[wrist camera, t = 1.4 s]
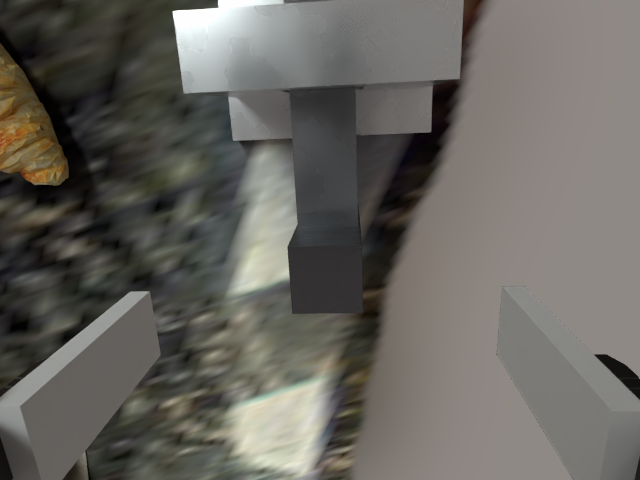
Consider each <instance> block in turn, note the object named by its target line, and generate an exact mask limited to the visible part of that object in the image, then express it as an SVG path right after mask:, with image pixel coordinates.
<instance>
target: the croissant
mask: <svg viewBox="0 0 640 480" xmlns="http://www.w3.org/2000/svg"><path fill="white" fill-rule="evenodd" d="M0 171H2V172H5V173H9V174H12V173H15V172H20V173H21V174H22V176H23V177H24V178H25V179H26V180H27V181H29V182H31V183H33V184H34V185H38V184H41V185H55V186H56V185H60V184H61V182H63V181H65V179H67V178H68V177H69V168H68V161H67V158H66V157H65V156H64V154H63V150H62V146H60V145H59V143H58V140H57V137H56V134H55V131H54V128H53V125H52V122H51V119H50V116H49V115H48V113H47V112H46V110H45V108H44V106H43V104H42V103H41V102H40V101H39V99H38V97H37V95H36V94H35V92H34V90H33V88H32V86H31V84H30V83H29V81H28V79H27V78H26V75H25V74H24V72H23V70H22V69H21V68H20V67H19V66H18V65H17V64H16V63H15V61H14V60H13V59H12V57H11V56H10V54H9V53H8V52H7V51H6V49H5V48H4V47H3V46H2V44H1V43H0Z"/></svg>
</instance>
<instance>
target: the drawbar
mask: <svg viewBox="0 0 640 480" xmlns="http://www.w3.org/2000/svg"><path fill="white" fill-rule="evenodd" d="M283 1H284V4H287V3H301V2H316V1H331V0H283ZM289 95H290V110H291V126H292V142H293V157H294V173H295V188H296V204H297V220H298V225H297V227H296V229H295V232H294V234H293V236H292V238H291V241H290V243H289V245H288V259H289V273H290V287H291V301H292V314H305V313H363V285H362V242H361V230H360V218H359V206H358V192H357V141H356V90H355V87H339V88H320V89H300V90H289Z"/></svg>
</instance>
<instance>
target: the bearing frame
mask: <svg viewBox="0 0 640 480" xmlns="http://www.w3.org/2000/svg"><path fill="white" fill-rule="evenodd" d="M218 3H219V8H214V9H199V10H184V11H173V16H174V23H175V31H176V38H177V46H178V53H179V60H180V68H181V75H182V83H183V90H184V93H186V94H198V95H211V96H223V97H228V98H229V107H230V117H231V126H232V136H233V141H240V140H263V139H286V138H292V126H291V110H290V95H289V90H300V89H320V88H339V87H355V90H356V135H380V134H403V133H426V132H431V120H432V89H433V86H434V85H438V84H442V83H446V82H450V81H453V80H457V79H460V65H461V45H462V25H463V5H464V0H331V1H316V2H301V3H287V4H284V1H283V0H218Z"/></svg>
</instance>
